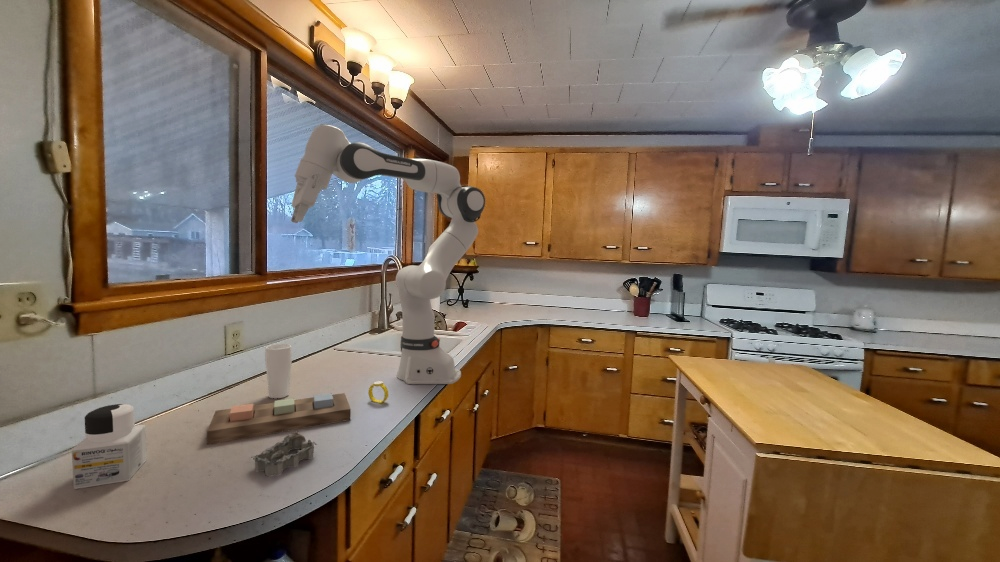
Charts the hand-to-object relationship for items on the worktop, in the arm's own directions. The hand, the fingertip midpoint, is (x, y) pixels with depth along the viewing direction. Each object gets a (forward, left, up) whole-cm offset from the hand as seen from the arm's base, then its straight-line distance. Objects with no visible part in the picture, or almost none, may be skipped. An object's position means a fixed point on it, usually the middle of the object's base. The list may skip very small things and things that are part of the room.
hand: (296, 221), depth 110 cm
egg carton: (-19, +33, -52) cm, 64 cm away
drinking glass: (+5, +1, -52) cm, 52 cm away
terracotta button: (0, +21, -50) cm, 54 cm away
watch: (-25, 0, -52) cm, 57 cm away
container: (+10, +42, -52) cm, 67 cm away
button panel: (-7, +16, -52) cm, 54 cm away
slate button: (-15, +11, -50) cm, 53 cm away
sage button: (-7, +16, -50) cm, 53 cm away
